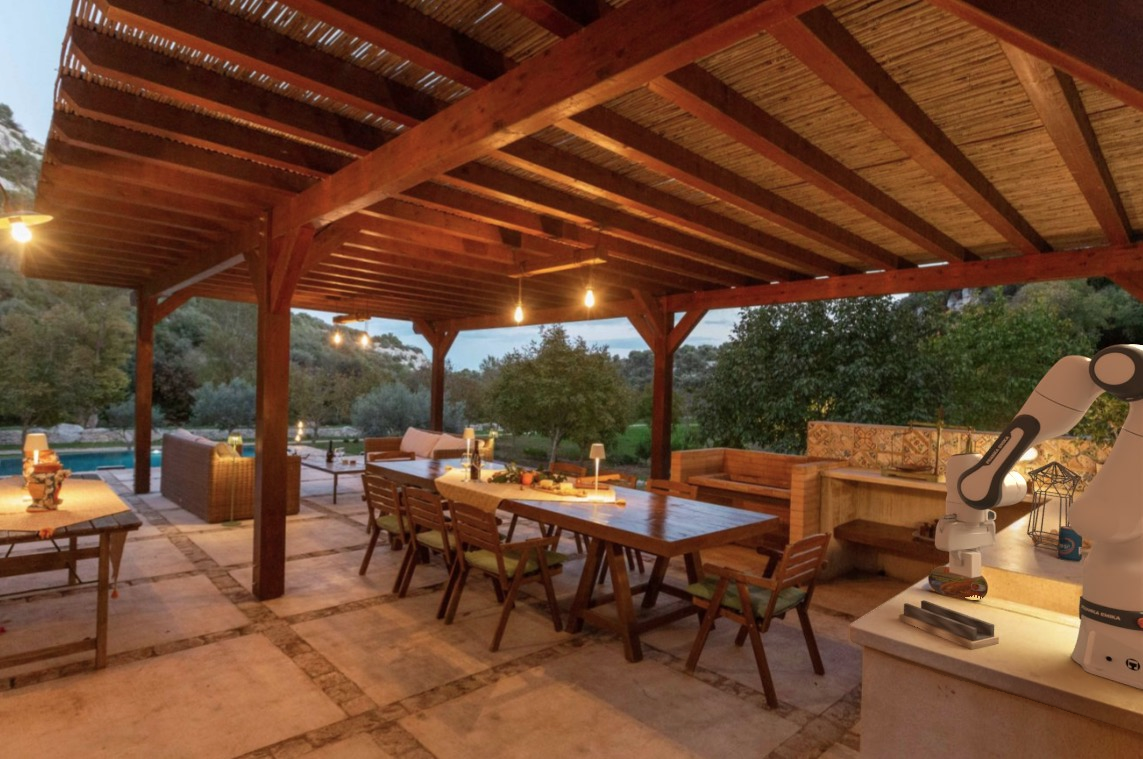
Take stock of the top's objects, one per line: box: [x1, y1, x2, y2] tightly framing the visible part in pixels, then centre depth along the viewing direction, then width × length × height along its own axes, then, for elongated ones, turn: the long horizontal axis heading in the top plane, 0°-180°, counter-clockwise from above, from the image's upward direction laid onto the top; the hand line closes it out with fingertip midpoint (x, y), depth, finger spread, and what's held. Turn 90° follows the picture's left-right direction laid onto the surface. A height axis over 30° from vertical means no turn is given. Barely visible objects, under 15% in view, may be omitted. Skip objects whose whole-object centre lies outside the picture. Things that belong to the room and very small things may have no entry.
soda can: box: [1057, 525, 1083, 563], centre depth 232 cm, size 7×7×12 cm
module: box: [948, 549, 982, 578], centre depth 166 cm, size 6×4×6 cm, turn 25°
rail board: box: [898, 600, 1000, 650], centre depth 156 cm, size 19×10×4 cm, turn 25°
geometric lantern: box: [1026, 461, 1083, 552], centre depth 251 cm, size 16×16×35 cm
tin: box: [928, 565, 989, 600], centre depth 184 cm, size 15×3×8 cm, turn 50°
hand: (965, 565), depth 165 cm, fingers closed on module, 4 cm apart
